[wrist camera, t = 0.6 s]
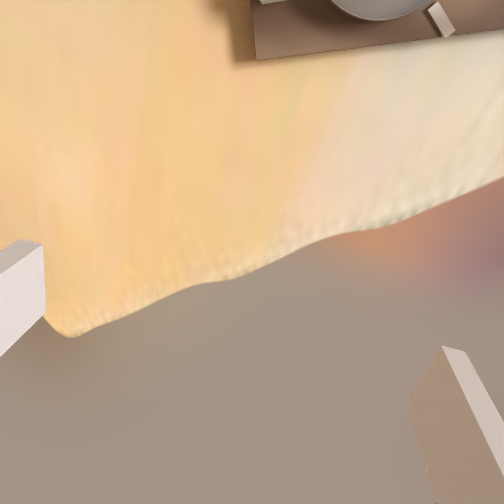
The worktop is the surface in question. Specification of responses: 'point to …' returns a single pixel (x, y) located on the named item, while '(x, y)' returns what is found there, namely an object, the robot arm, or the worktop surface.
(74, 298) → the worktop surface
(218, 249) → the worktop surface
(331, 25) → the stand
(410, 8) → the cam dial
